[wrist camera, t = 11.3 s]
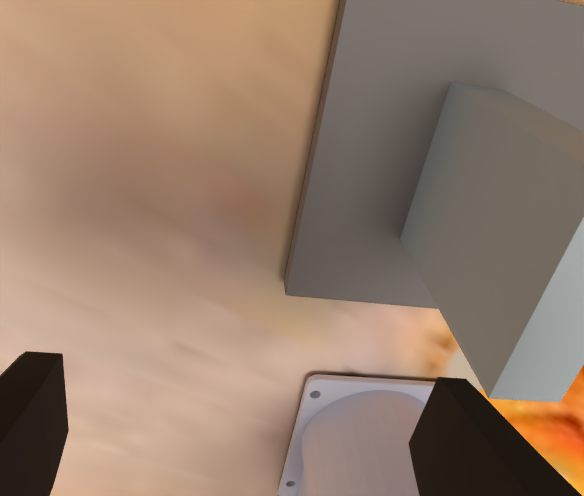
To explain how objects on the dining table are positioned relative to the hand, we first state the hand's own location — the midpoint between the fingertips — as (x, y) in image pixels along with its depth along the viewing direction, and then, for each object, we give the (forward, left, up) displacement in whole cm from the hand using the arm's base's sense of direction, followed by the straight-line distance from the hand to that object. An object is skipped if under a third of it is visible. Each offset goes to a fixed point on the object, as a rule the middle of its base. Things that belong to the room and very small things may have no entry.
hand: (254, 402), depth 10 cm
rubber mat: (+2, -7, -10) cm, 13 cm away
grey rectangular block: (+2, -7, -9) cm, 12 cm away
